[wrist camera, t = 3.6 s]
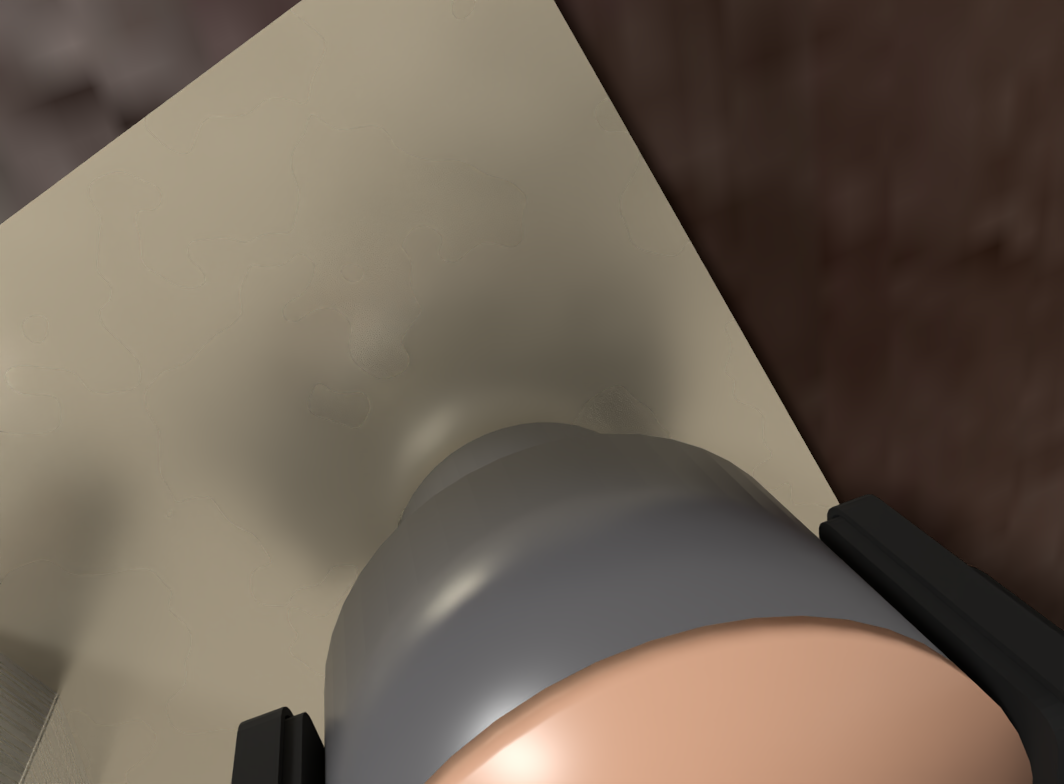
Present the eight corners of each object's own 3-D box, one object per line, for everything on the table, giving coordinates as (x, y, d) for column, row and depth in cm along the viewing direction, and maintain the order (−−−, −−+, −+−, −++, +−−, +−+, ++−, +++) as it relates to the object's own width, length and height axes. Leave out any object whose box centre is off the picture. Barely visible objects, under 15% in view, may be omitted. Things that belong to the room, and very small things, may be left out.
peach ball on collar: (590, 269, 12) (881, 474, 6) (778, 558, 15) (1110, 906, 9) (228, 535, 12) (133, 1017, 6) (483, 772, 15) (600, 1268, 9)
